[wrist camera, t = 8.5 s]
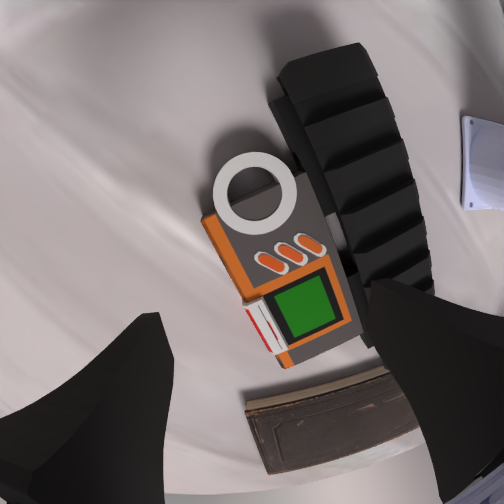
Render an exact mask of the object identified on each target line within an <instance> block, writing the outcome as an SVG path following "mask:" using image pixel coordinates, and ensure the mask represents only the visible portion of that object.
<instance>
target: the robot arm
mask: <svg viewBox="0 0 504 504" xmlns="http://www.w3.org/2000/svg"><path fill="white" fill-rule="evenodd" d="M470 122H471V123H470ZM462 133H463V190H462V208H463V209H464V210H466V211H468V210H479V209H490V208H497V209H500V210H502V211H504V125H502V124H499V123H495V122H491V121H487V120H483V119H479V118H475V117H471V116H463V117H462ZM366 329H367V332H368V334H369V336H370V338H371V340H372V343H373V345H374V347H375V349H376V351H377V352H378V354H379V355H380V357H381V358H382V360H383V362H384V363H385V365H386V366H387V368H388V369H389V371H390V372H391V374H392V375H393V377H394V378H395V380H396V382H397V383H398V385H399V386H400V388H401V389H402V391H403V392H404V394H405V396H406V398H407V399H408V401H409V403H410V405H411V407H412V409H413V411H414V414H415V416H416V418H417V420H418V423H419V425H420V428H421V430H422V433H423V436H424V438H425V441H426V444H427V447H428V450H429V453H430V456H431V460H432V463H433V467H434V471H435V476H436V480H437V485H438V490H439V497H440V499H441V501H442V502H443V504H479V503H480V504H504V317H500V316H495V315H491V314H487V313H483V312H480V311H476V310H472V309H469V308H466V307H463V306H460V305H457V304H454V303H451V302H449V301H446V300H443V299H441V298H438V297H436V296H433V295H431V294H428V293H426V292H423V291H421V290H419V289H416V288H414V287H411V286H409V285H406V284H404V283H401V282H398V281H395V280H392V279H389V278H383V279H378V280H373V281H371V291H370V300H369V309H368V317H367V325H366ZM173 377H174V357H173V354H172V351H171V348H170V345H169V342H168V339H167V336H166V333H165V330H164V327H163V324H162V321H161V317H160V314H159V312H154V313H143V314H141V315H140V316H138V317H137V318H136V319H135V320H134V321H133V322H132V323H131V324H130V325H129V326H128V327H127V328H126V329H125V330H124V331H123V332H122V333H121V334H120V335H119V336H118V337H117V338H116V339H115V340H114V341H112V342H111V343H110V344H109V345H108V346H107V347H106V348H105V349H104V350H103V351H102V352H101V353H100V354H99V355H98V356H96V357H95V358H94V359H93V360H92V361H91V362H90V363H89V364H88V365H87V366H85V367H84V368H83V369H82V370H81V371H79V372H78V373H77V374H76V375H74V376H73V377H72V378H70V379H69V380H68V381H66V382H65V383H64V384H62V385H61V386H60V387H58V388H57V389H55V390H53V391H52V392H50V393H49V394H47V395H45V396H44V397H42V398H41V399H39V400H37V401H36V402H34V403H32V404H30V405H28V406H26V407H24V408H23V409H21V410H18V411H16V412H14V413H12V414H10V415H7V416H5V417H3V418H0V497H1V498H2V499H4V500H5V501H6V502H7V504H165V500H164V480H163V448H164V437H165V431H166V425H167V418H168V412H169V406H170V400H171V394H172V388H173Z"/></svg>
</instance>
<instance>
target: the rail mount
mask: <svg viewBox="0 0 504 504" xmlns="http://www.w3.org/2000/svg"><path fill="white" fill-rule="evenodd" d="M377 76H378V74H377V72H376V70H375V67H374V65H373V63H372V61H371V59H370V57H369V55H368V53H367V51H366V49H365V48H364V47H363V46H362V45H361V44H360V43H354V44H350V45H346V46H342V47H338V48H334V49H330V50H326V51H323V52H319V53H316V54H312V55H309V56H306V57H303V58H299V59H296V60H293V61H290V62H288V63H287V64H286V66H285V67H284V68H283V69H282V71H281V73H280V74H279V77H277V80H278V82H279V83H280V85H281V87H282V89H283V91H284V93H285V95H286V96H284V97H281V98H279V99H276V100H274V101H272V102H271V103H270V104H268V105H269V107H270V109H271V111H272V113H273V115H274V117H275V119H276V122H277V124H278V126H279V128H280V130H281V132H282V134H283V136H284V138H285V140H286V143H287V145H288V147H289V149H290V151H291V154H292V156H293V158H294V160H295V162H296V165H297V167H298V169H299V171H303V172H306V173H307V176H308V178H309V180H310V183H311V185H312V188H313V190H314V193H315V195H316V197H317V200H318V202H319V205H320V207H321V210H322V212H323V215H324V217H325V216H327V215H330V214H332V213H334V212H336V214H337V216H338V219H339V222H340V225H341V227H342V230H343V233H344V236H345V239H346V242H347V245H348V248H349V251H350V254H351V257H352V260H353V263H354V266H355V268H349V265H348V263H346V264H344V265H342V266H343V269H344V272H345V275H346V278H347V281H348V284H349V287H350V290H351V293H352V296H353V299H354V302H355V306H356V309H357V312H358V315H359V319H360V322H361V325H362V329H363V332H364V333H362V334H360V336H361V339H362V340H363V342H364V343H365V345H366V346H367V348H368V349H369V348H371V347H373V346H374V345H373V343H372V340H371V338H370V336H369V334H368V332H367V329H366V325H367V317H368V309H369V300H370V291H371V281H373V280H378V279H383V278H389V279H392V280H395V281H398V282H401V283H404V284H406V285H409V286H411V287H414V288H416V289H419V290H421V291H423V292H426V293H428V294H431V295H433V296H434V295H435V289H434V280H433V279H432V272H431V266H432V263H431V256H430V250H428V244H427V239H426V235H427V232H426V226H425V221H424V216H422V213H421V208H420V204H419V194H418V190H417V186H416V182H415V179H413V176H412V172H411V168H410V165H409V161H408V159H409V157H408V153H407V150H406V147H405V144H404V141H403V139H401V136H400V133H399V130H398V127H397V125H396V122H395V119H394V118H395V115H394V112H393V110H392V107H391V105H390V102H389V100H388V97H386V96H385V94H384V91H383V89H382V86H381V84H380V82H379V80H378V77H377ZM383 365H384V368H385V369H387V370H389V369H388V368H387V366H386V365H385V363H384V362H383Z"/></svg>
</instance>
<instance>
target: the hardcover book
mask: <svg viewBox="0 0 504 504" xmlns="http://www.w3.org/2000/svg"><path fill="white" fill-rule="evenodd" d="M246 408H247V410H245V415H246V418H247V420H248V423H249V426H250V429H251V431H252V434H253V437H254V440H255V442H256V445H257V448H258V450H259V453H260V455H261V458H262V461H263V463H264V466H265V468H266V471H267V473H268V475H273V474H279V473H284V472H289V471H294V470H298V469H302V468H307V467H311V466H315V465H318V464H322V463H326V462H329V461H333V460H336V459H339V458H343V457H346V456H349V455H352V454H355V453H358V452H361V451H363V450H366V449H369V448H372V447H374V446H377V445H379V444H382V443H385V442H387V441H389V440H392V439H394V438H396V437H399V436H401V435H403V434H406V433H408V432H410V431H412V430H414V429H416V428H418V427H420V425H419V423H418V420H417V418H416V416H415V414H414V411H413V409H412V407H411V405H410V403H409V401H408V399H407V398H406V396H405V394H404V392H403V391H402V389H401V388H400V386H399V385H398V383H397V382H396V380H395V378H394V377H393V375H392V374H391V372H390V371H389V370H387V369H385V368H384V365H383V366H380V367H377V368H374V369H372V370H369V371H366V372H363V373H359V374H356V375H353V376H350V377H347V378H343V379H340V380H337V381H333V382H330V383H326V384H322V385H319V386H315V387H311V388H307V389H303V390H299V391H295V392H290V393H286V394H281V395H277V396H272V397H267V398H262V399H256V400H251V401H247V405H246Z"/></svg>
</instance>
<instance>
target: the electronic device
mask: <svg viewBox="0 0 504 504" xmlns="http://www.w3.org/2000/svg"><path fill="white" fill-rule="evenodd" d="M248 167H261V168H264V169H266V170H267V171H268V172H269V173H270V174H271V175H272V176H273V178H274V179H275V181H274V182H272V183H269V184H267V185H265V186H263V187H261V188H259V189H257V190H254V191H252V192H250V193H248V194H246V195H244V196H242V197H240V198H238V199H235V200H233V201H231V202H230V201H229V199H228V195H227V189H228V185H229V183H230V181H231V179H232V178H233V176H234V175H235V174H237V173H238V172H239V171H241V170H242V169H245V168H248ZM296 176H297V177H296ZM294 177H295V178H294ZM276 185H277V186H276ZM274 186H275V187H274ZM272 187H273V188H272ZM270 188H271V189H270ZM265 190H266V191H265ZM263 191H264V192H263ZM261 192H262V193H261ZM259 193H260V194H259ZM257 194H258V195H257ZM248 198H249V199H248ZM246 199H247V200H246ZM213 200H214V205H215V208H216V209H215V210H213V211H211V212H209V213H207V214H205V215H203V216H202V218H201V223H202V225H203V227H204V229H205V231H206V233H207V235H208V237H209V238H210V240H211V242H212V244H213V246H214V248H215V250H216V251H217V253H218V255H219V257H220V259H221V261H222V263H223V264H224V266H225V268H226V270H227V272H228V274H229V275H230V277H231V279H232V281H233V283H234V285H235V286H236V288H237V290H238V292H239V294H240V295H241V297H242V303H243V307H244V309H245V310H246V312H247V314H248V316H249V317H250V319H251V321H252V323H253V324H254V326H255V328H256V330H257V331H258V333H259V335H260V336H261V338H262V340H263V342H264V343H265V345H266V347H267V348H268V350H269V352H270V354H272V355H275V357H276V359H277V360H278V362H279V364H280V365H281V367H282V368H284V369H287V368H290V367H292V366H294V365H297V364H299V363H301V362H304V361H306V360H308V359H310V358H313V357H315V356H317V355H320V354H322V353H324V352H326V351H328V350H330V349H332V348H334V347H336V346H338V345H340V344H342V343H344V342H346V341H348V340H350V339H352V338H354V337H356V336H358V335H360V334H362V333H364V332H363V329H362V325H361V322H360V319H359V315H358V312H357V309H356V306H355V302H354V299H353V296H352V293H351V290H350V287H349V284H348V281H347V278H346V275H345V272H344V269H343V266H342V264H341V261H340V258H339V255H338V252H337V250H336V247H335V244H334V241H333V239H332V236H331V233H330V231H329V228H328V225H327V223H326V220H325V218H324V215H323V212H322V210H321V207H320V205H319V202H318V200H317V197H316V195H315V193H314V190H313V188H312V185H311V183H310V180H309V178H308V176H307V173H306V172H303V171H296V172H294V173H291V171H290V169H289V168H288V167H287V166H286V165H285V164H284V163H283V162H282V161H281V160H279V159H278V158H276V157H274V156H272V155H270V154H266V153H262V152H249V153H244V154H241V155H238V156H236V157H234V158H232V159H231V160H229V161H228V162H227V163H226V164H225V165H224V166H223V167H222V169H221V170H220V171H219V173H218V175H217V177H216V179H215V183H214V187H213ZM244 200H245V201H244ZM242 201H243V202H242ZM217 213H218V214H217Z"/></svg>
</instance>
